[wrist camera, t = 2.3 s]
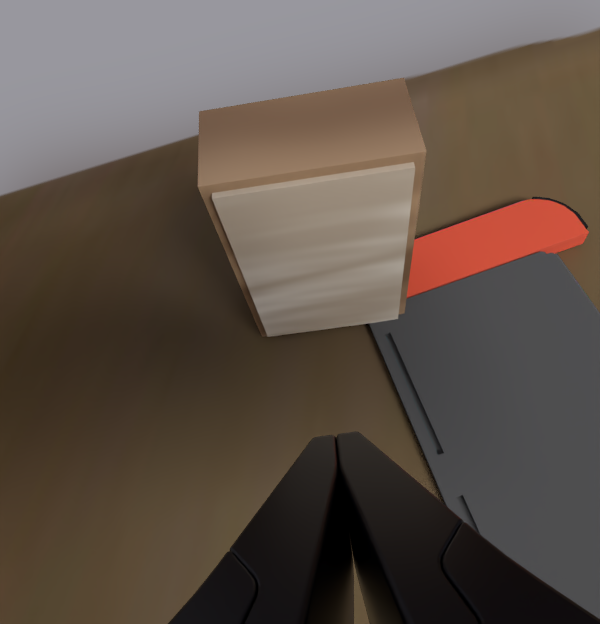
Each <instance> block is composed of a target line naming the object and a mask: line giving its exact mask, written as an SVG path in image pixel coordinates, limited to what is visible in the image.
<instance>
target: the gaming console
mask: <svg viewBox="0 0 600 624" xmlns="http://www.w3.org/2000/svg"><path fill="white" fill-rule="evenodd" d="M587 227H588V226H587V224H586V223H585V222H584V220H583V219H582V218H581V216H580V215H579V214H578V213H577V212H576V211H574V210H573V209H571V208H570V207H569V206H567V205H566V204H564V203H561V202H559V201H556V200H553V199H550V198H542V197H533V198H532V199H530V200H524V201H520V202H518V203H515V204H512V205H509V206H506V207H504V208H501V209H498V210H495V211H492V212H490V213H487V214H484V215H481V216H479V217H476V218H473V219H470V220H467V221H465V222H462V223H459V224H456V225H453V226H451V227H448V228H445V229H442V230H440V231H437V232H434V233H431V234H428V235H426V236H423V237H420V238H417V239H414V247H413V254H412V261H411V269H410V276H409V283H408V291H407V298H406V306H405V313H404V314H398V319H394V320H388V321H382V322H375V323H368V324H369V326H370V328H371V331H372V333H373V335H374V338H375V340H376V342H377V345H378V347H379V350H380V352H381V354H382V357H383V359H384V361H385V364H386V366H387V368H388V371H389V373H390V375H391V378H392V380H393V383H394V385H395V387H396V390H397V392H398V394H399V397H400V399H401V401H402V404H403V406H404V408H405V411H406V413H407V416H408V418H409V420H410V423H411V425H412V427H413V430H414V432H415V434H416V437H417V439H418V441H419V444H420V446H421V448H422V451H423V453H424V456H425V458H426V460H427V463H428V465H429V467H430V470H431V472H432V474H433V477H434V479H435V481H436V484H437V486H438V489H439V491H440V493H441V496H442V498H443V500H444V503H445V505H446V506H447V507H448V508H449V509H451V510H452V511H453V512H454V513H455V514H456V515H458V516H459V517H460V518H461V519H462V520H463V521H464V522H466V523H467V524H469V525H470V526H471V527H472V528H473V529H475V530H476V531H477V532H478V533H479V534H480V535H482V536H483V537H484V538H485V539H487V540H488V541H489V542H490V543H492V544H493V545H494V546H496V547H497V548H498V549H499V550H501V551H502V552H503V553H504V554H506V555H507V556H508V557H510V558H511V559H512V560H514V561H515V562H517V563H518V564H520V565H521V566H522V567H524V568H525V569H527V570H528V571H529V572H531V573H532V574H534V575H535V576H537V577H538V578H539V579H541V580H542V581H544V582H545V583H547V584H548V585H550V586H551V587H553V588H554V589H556V590H557V591H559V592H560V593H562V594H563V595H565V596H566V597H568V598H569V599H571V600H572V601H574V602H575V603H577V604H578V605H580V606H581V607H583V608H584V609H586V610H587V611H589V612H590V613H592V614H593V615H595V616H596V617H598V618H599V619H600V313H599V311H598V310H597V308H596V307H595V306H594V304H593V303H592V302H591V300H590V299H589V297H588V296H587V295H586V293H585V292H584V290H583V289H582V288H581V286H580V285H579V283H578V282H577V281H576V279H575V278H574V276H573V275H572V274H571V272H570V271H569V270H568V268H567V267H566V265H565V264H564V263H563V261H562V260H561V258H560V257H559V256H558V254H554V253H557V252H560V251H563V250H566V249H569V248H571V247H574V246H577V245H580V244H583V242H584V240H585V238H586V237H587V235H588V233H589V232H588V231H587Z"/></svg>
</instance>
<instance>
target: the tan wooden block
mask: <svg viewBox="0 0 600 624" xmlns="http://www.w3.org/2000/svg"><path fill="white" fill-rule="evenodd" d="M425 158H426V148H425V145H424V142H423V139H422V135H421V132H420V129H419V126H418V122H417V119H416V116H415V113H414V109H413V106H412V103H411V99H410V96H409V93H408V90H407V86H406V83H405V80H404V78H400V79H394V80H388V81H381V82H375V83H369V84H363V85H357V86H351V87H345V88H339V89H333V90H327V91H321V92H315V93H309V94H303V95H297V96H291V97H285V98H278V99H272V100H267V101H260V102H255V103H248V104H242V105H236V106H231V107H224V108H218V109H212V110H206V111H200V112H199V150H198V189H199V191H200V193H201V196H202V198H203V200H204V203H205V205H206V207H207V210H208V212H209V214H210V217H211V219H212V221H213V224H214V226H215V228H216V231H217V233H218V235H219V238H220V240H221V242H222V245H223V247H224V249H225V252H226V254H227V256H228V259H229V261H230V263H231V266H232V268H233V270H234V273H235V275H236V277H237V280H238V282H239V284H240V287H241V289H242V291H243V294H244V296H245V298H246V301H247V303H248V305H249V308H250V310H251V312H252V315H253V317H254V320H255V322H256V324H257V327H258V329H259V331H260V334H261V336H262V337H264V336H268V337H271V336H278V335H286V334H293V333H301V332H308V331H316V330H323V329H330V328H338V327H345V326H353V325H360V324H368V323H375V322H382V321H388V320H394V319H398V314H404V313H405V306H406V298H407V291H408V283H409V276H410V269H411V261H412V254H413V247H414V239H415V232H416V225H417V217H418V210H419V203H420V195H421V188H422V181H423V173H424V166H425Z"/></svg>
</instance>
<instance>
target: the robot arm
mask: <svg viewBox="0 0 600 624" xmlns="http://www.w3.org/2000/svg"><path fill="white" fill-rule="evenodd" d="M350 539H351V540H350ZM351 546H352V547H351ZM352 552H353V556H352ZM353 558H354V564H355V568H356V572H357V577H358V581H359V584H360V588H361V592H362V596H363V600H364V603H365V607H366V611H367V615H368V619H369V622H370V624H600V619H599V618H598V617H596V616H595V615H593V614H592V613H590V612H589V611H587V610H586V609H584V608H583V607H581V606H580V605H578V604H577V603H575V602H574V601H572V600H571V599H569V598H568V597H566V596H565V595H563V594H562V593H560V592H559V591H557V590H556V589H554V588H553V587H551V586H550V585H548V584H547V583H545V582H544V581H542V580H541V579H539V578H538V577H537V576H535V575H534V574H532V573H531V572H529V571H528V570H527V569H525V568H524V567H522V566H521V565H520V564H518V563H517V562H515V561H514V560H512V559H511V558H510V557H508V556H507V555H506V554H504V553H503V552H502V551H501V550H499V549H498V548H497V547H496V546H494V545H493V544H492V543H490V542H489V541H488V540H487V539H485V538H484V537H483V536H482V535H480V534H479V533H478V532H477V531H476V530H475V529H473V528H472V527H471V526H470V525H469V524H467V523H466V522H464V521H463V520H462V519H461V518H460V517H459V516H458V515H456V514H455V513H454V512H453V511H452V510H451V509H449V508H448V507H447V506H446V505H445V504H443V503H442V502H441V501H440V500H439V499H437V498H436V497H435V496H434V495H433V494H432V493H430V492H429V491H428V490H427V489H426V488H424V487H423V486H422V485H421V484H420V483H419V482H417V481H416V480H415V479H414V478H413V477H411V476H410V475H409V474H408V473H407V472H406V471H404V470H403V469H402V468H401V467H400V466H398V465H397V464H396V463H395V462H394V461H392V460H391V459H390V458H389V457H388V456H387V455H385V454H384V453H383V452H382V451H381V450H379V449H378V448H377V447H376V446H375V445H374V444H372V443H371V442H370V441H369V440H368V439H366V438H365V437H364V436H363V435H362V434H361V433H359V432H350V433H342V434H338V435H337V437H335V436H333V435H328V436H320V437H314V438H313V439H312V440H311V441H310V442H309V444H308V445H307V446H306V448H305V449H304V450H303V452H302V453H301V454H300V456H299V457H298V458H297V460H296V461H295V462H294V464H293V465H292V466H291V468H290V469H289V470H288V472H287V473H286V474H285V476H284V477H283V478H282V480H281V481H280V482H279V484H278V485H277V486H276V488H275V489H274V490H273V492H272V493H271V494H270V496H269V497H268V498H267V500H266V501H265V502H264V504H263V505H262V506H261V508H260V509H259V510H258V512H257V513H256V514H255V516H254V517H253V518H252V520H251V521H250V522H249V524H248V525H247V526H246V528H245V529H244V530H243V532H242V533H241V534H240V536H239V537H238V538H237V540H236V541H235V542H234V544H233V545H232V546H231V548H230V552H227V553H226V554H225V556H224V557H223V558H222V560H221V561H220V562H219V564H218V565H217V566H216V568H215V569H214V570H213V571H212V573H211V574H210V575H209V576H208V578H207V579H206V580H205V581H204V583H203V584H202V585H201V586H200V588H199V589H198V590H197V591H196V593H195V594H194V595H193V596H192V597H191V598H190V599H189V601H188V602H187V603H186V604H185V605H184V606H183V607H182V609H181V610H180V611H179V612H178V613H177V614H176V615H175V616H174V618H173V619H172V620H171V621H170V622H169V623H168V624H354V572H353Z"/></svg>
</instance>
